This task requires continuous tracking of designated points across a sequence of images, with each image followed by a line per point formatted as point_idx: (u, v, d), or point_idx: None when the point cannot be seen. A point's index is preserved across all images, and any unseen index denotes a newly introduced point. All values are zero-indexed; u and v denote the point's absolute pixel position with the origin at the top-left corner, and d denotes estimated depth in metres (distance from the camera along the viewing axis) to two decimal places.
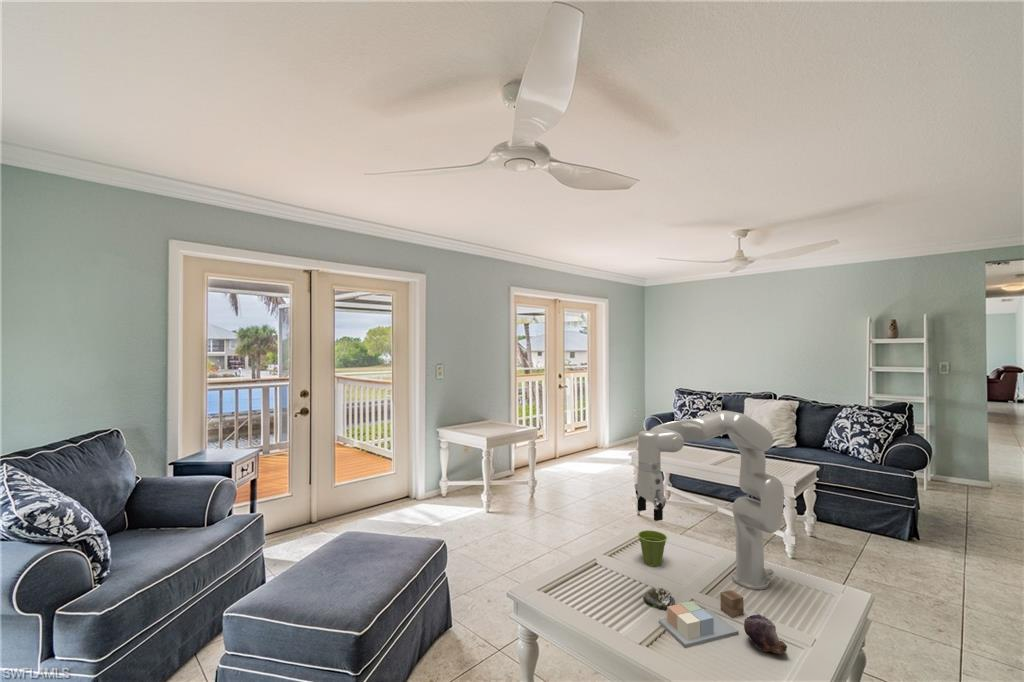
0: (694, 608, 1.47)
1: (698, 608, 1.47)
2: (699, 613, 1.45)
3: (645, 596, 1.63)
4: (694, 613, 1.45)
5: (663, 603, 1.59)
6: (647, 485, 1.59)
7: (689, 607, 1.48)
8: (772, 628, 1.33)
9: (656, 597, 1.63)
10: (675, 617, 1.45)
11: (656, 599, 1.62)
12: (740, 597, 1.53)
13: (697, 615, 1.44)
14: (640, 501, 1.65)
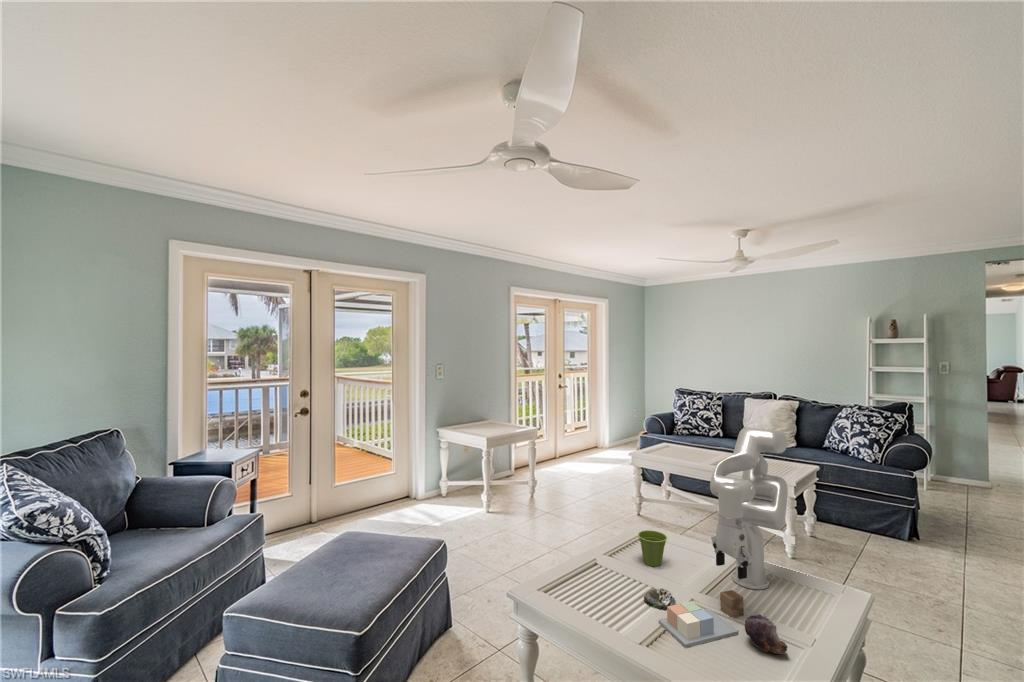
0: (694, 608, 1.47)
1: (698, 608, 1.47)
2: (699, 613, 1.45)
3: (646, 596, 1.63)
4: (694, 613, 1.45)
5: (663, 603, 1.59)
6: (729, 540, 1.52)
7: (689, 607, 1.48)
8: (772, 628, 1.33)
9: (657, 597, 1.63)
10: (675, 617, 1.45)
11: (657, 599, 1.62)
12: (740, 597, 1.53)
13: (697, 615, 1.44)
14: (719, 555, 1.59)
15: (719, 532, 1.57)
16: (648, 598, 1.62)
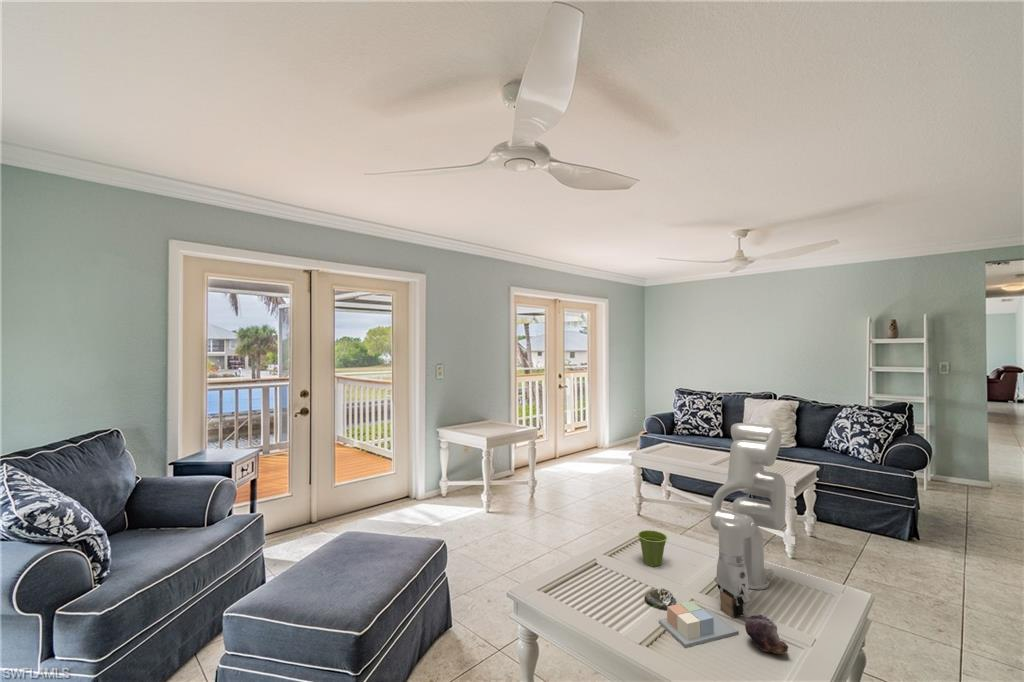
0: (694, 608, 1.47)
1: (698, 608, 1.47)
2: (699, 613, 1.45)
3: (646, 596, 1.63)
4: (694, 613, 1.45)
5: (664, 603, 1.59)
6: (730, 578, 1.52)
7: (689, 607, 1.48)
8: (773, 628, 1.33)
9: (657, 597, 1.63)
10: (675, 617, 1.45)
11: (657, 599, 1.62)
12: None
13: (697, 615, 1.44)
14: None
15: (720, 568, 1.57)
16: (649, 598, 1.62)
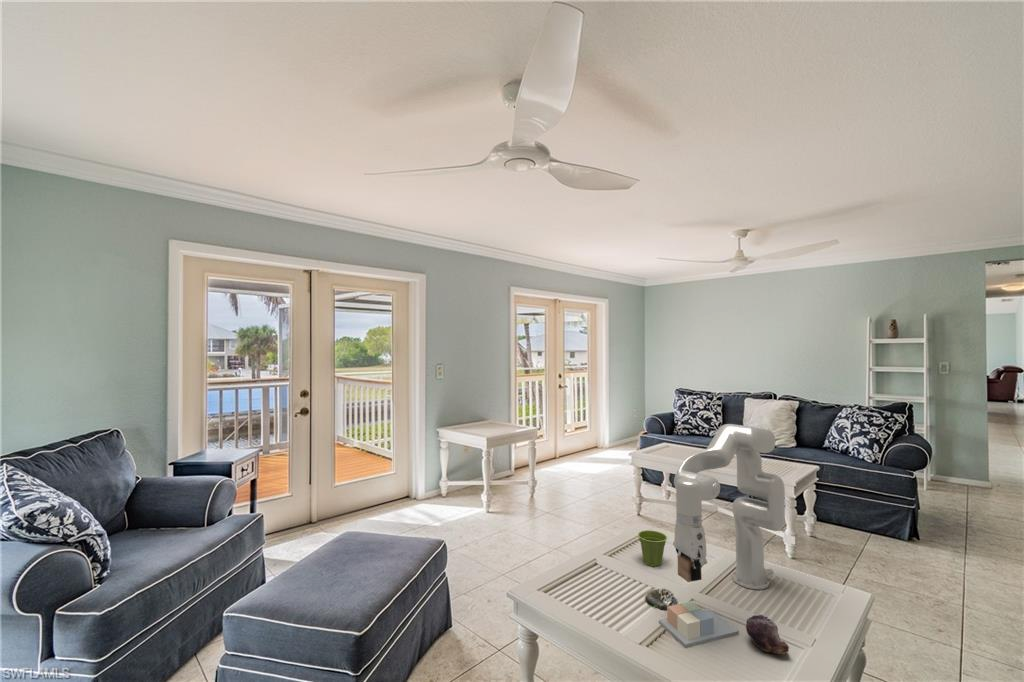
0: (694, 608, 1.47)
1: (698, 608, 1.47)
2: (699, 613, 1.45)
3: (647, 596, 1.63)
4: (694, 613, 1.45)
5: (665, 603, 1.59)
6: (687, 540, 1.43)
7: (689, 607, 1.48)
8: (774, 628, 1.33)
9: (658, 597, 1.63)
10: (675, 617, 1.45)
11: (658, 599, 1.61)
12: None
13: (697, 615, 1.44)
14: None
15: (677, 531, 1.48)
16: (649, 598, 1.62)
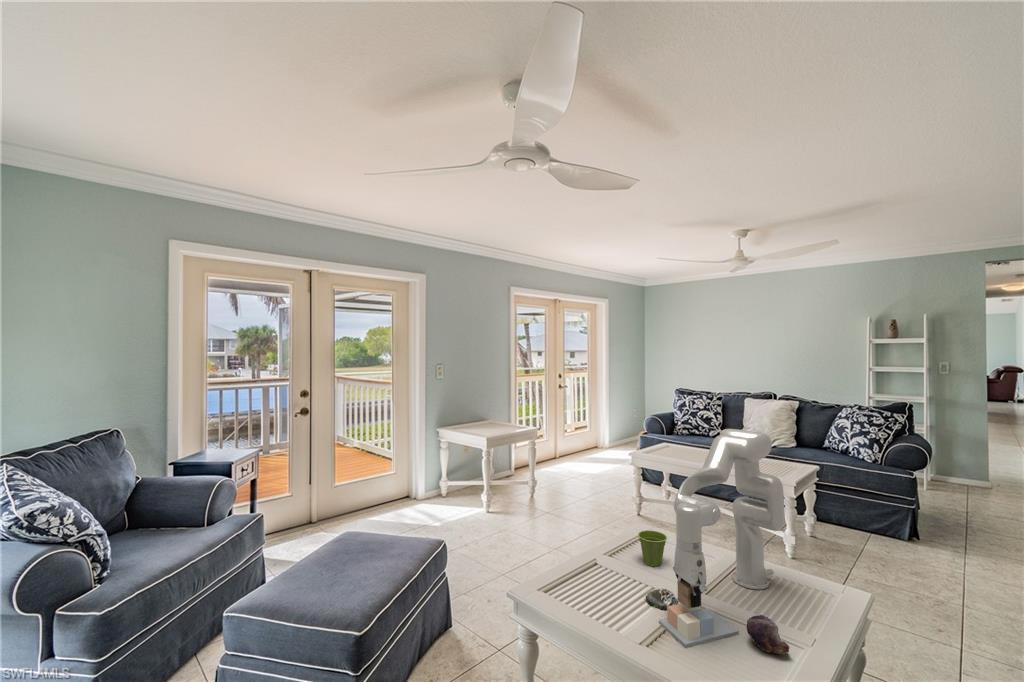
0: (694, 608, 1.47)
1: (698, 608, 1.47)
2: (699, 613, 1.45)
3: (647, 596, 1.63)
4: (694, 613, 1.45)
5: (665, 603, 1.58)
6: (687, 566, 1.43)
7: None
8: (774, 629, 1.33)
9: (659, 597, 1.63)
10: (675, 617, 1.45)
11: (658, 599, 1.61)
12: None
13: (697, 615, 1.44)
14: None
15: (677, 556, 1.47)
16: (650, 598, 1.62)
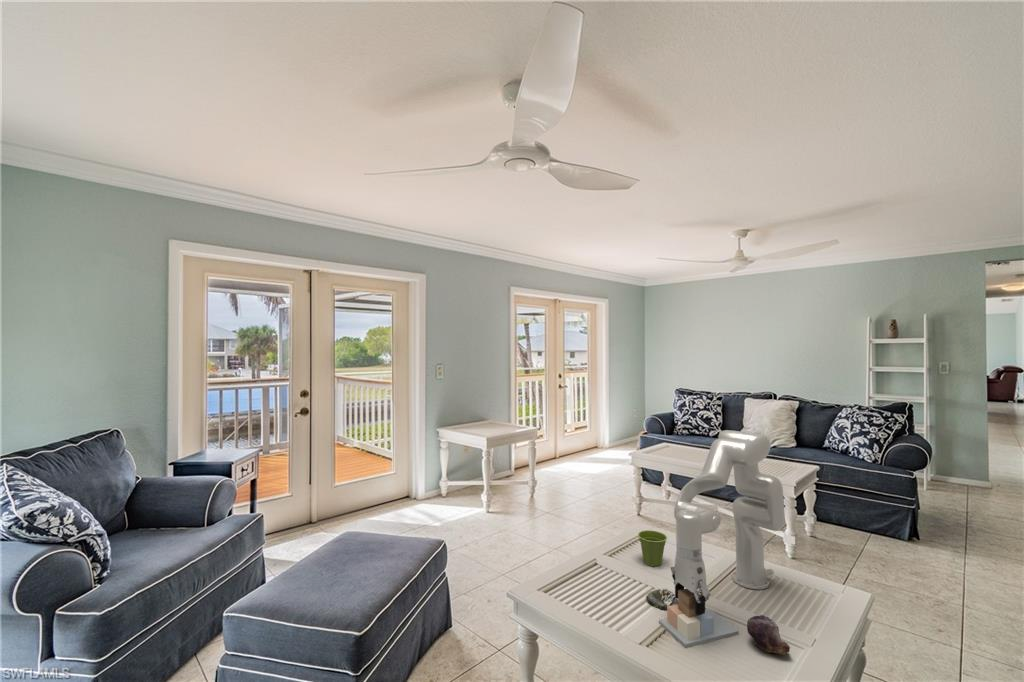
0: None
1: None
2: None
3: (648, 596, 1.63)
4: None
5: (665, 604, 1.58)
6: (687, 573, 1.43)
7: None
8: (775, 629, 1.33)
9: (659, 597, 1.63)
10: (675, 617, 1.45)
11: (659, 599, 1.61)
12: None
13: None
14: (678, 587, 1.50)
15: (677, 563, 1.47)
16: (650, 598, 1.62)
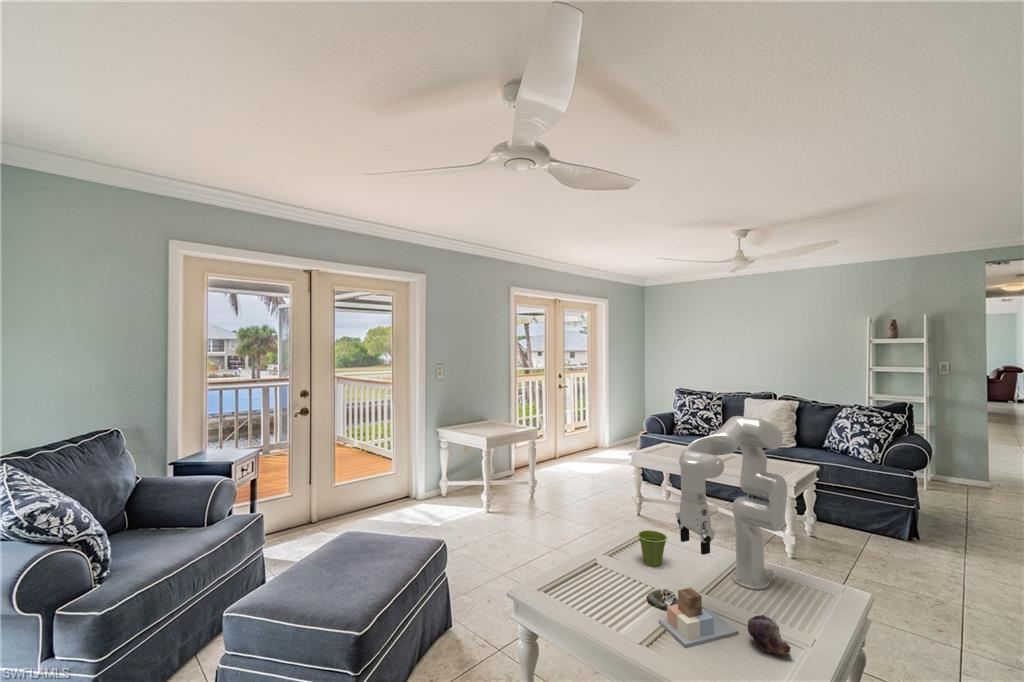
0: None
1: None
2: None
3: (649, 596, 1.63)
4: None
5: (666, 604, 1.58)
6: (692, 516, 1.49)
7: None
8: (775, 629, 1.33)
9: (660, 597, 1.63)
10: (675, 617, 1.45)
11: (659, 599, 1.61)
12: (698, 595, 1.44)
13: None
14: (683, 531, 1.55)
15: (682, 508, 1.53)
16: (651, 598, 1.62)
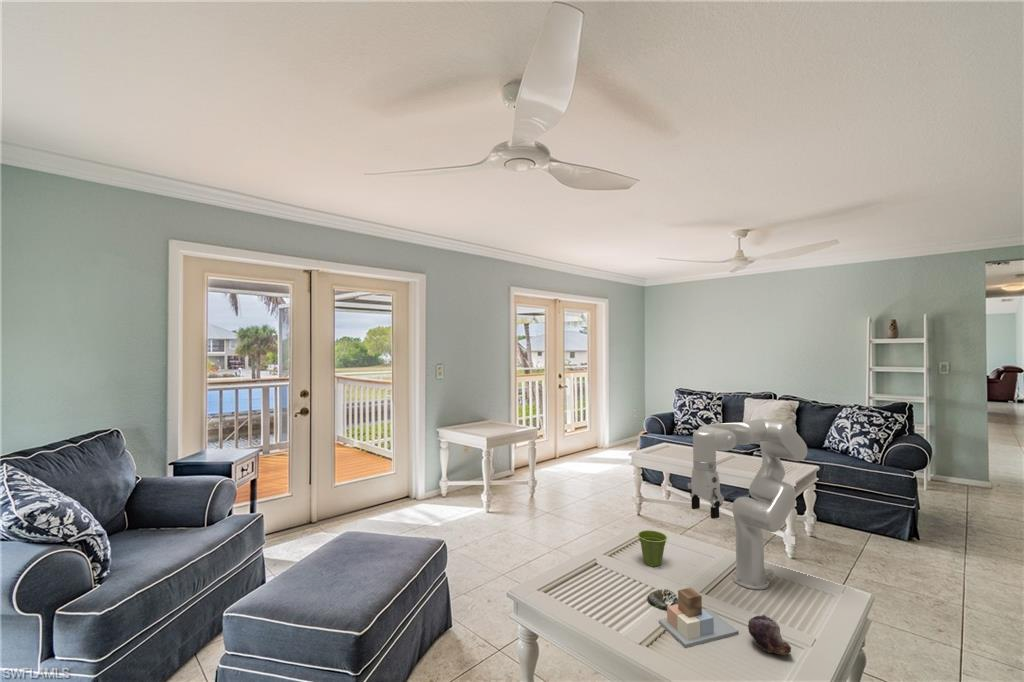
0: None
1: None
2: None
3: (649, 596, 1.63)
4: None
5: (666, 604, 1.58)
6: (703, 483, 1.62)
7: None
8: (776, 629, 1.33)
9: (661, 598, 1.62)
10: (675, 617, 1.45)
11: (660, 599, 1.61)
12: (698, 595, 1.44)
13: None
14: (694, 499, 1.68)
15: (694, 477, 1.66)
16: (651, 598, 1.62)
